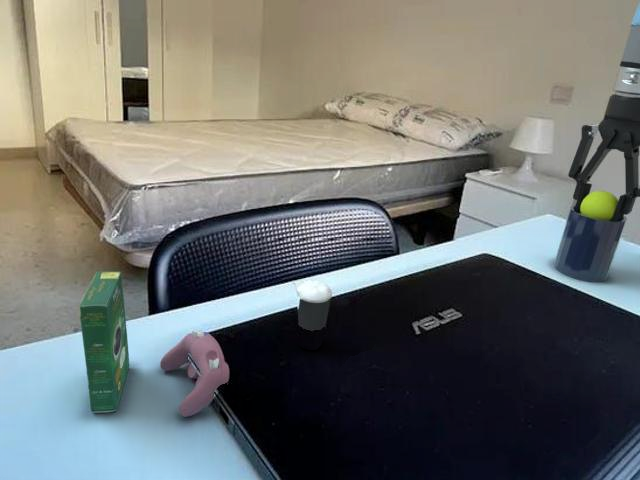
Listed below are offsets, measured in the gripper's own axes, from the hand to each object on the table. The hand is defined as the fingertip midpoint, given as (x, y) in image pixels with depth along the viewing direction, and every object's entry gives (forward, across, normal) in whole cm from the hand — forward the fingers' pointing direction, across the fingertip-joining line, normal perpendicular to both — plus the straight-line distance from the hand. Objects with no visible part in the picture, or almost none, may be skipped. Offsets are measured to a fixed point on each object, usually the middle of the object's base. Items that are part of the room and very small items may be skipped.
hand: (594, 222), depth 93 cm
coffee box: (+10, -15, -84) cm, 86 cm away
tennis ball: (-3, 0, 0) cm, 3 cm away
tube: (+10, 0, 0) cm, 10 cm away
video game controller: (+10, -10, -76) cm, 77 cm away
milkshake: (+10, -9, -60) cm, 62 cm away
